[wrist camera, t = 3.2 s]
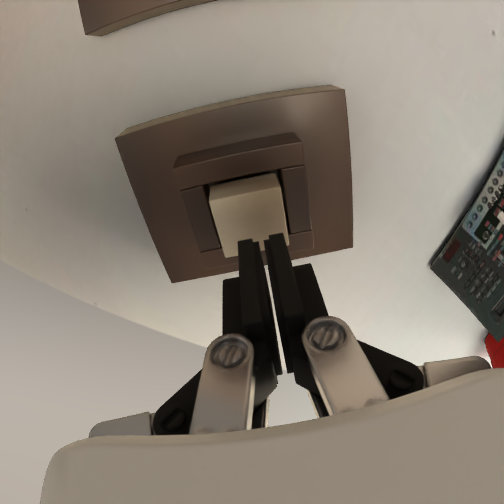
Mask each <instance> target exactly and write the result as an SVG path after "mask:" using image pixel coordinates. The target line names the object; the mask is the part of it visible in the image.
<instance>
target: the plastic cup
mask: <svg viewBox="0 0 504 504" xmlns="http://www.w3.org/2000/svg"><path fill="white" fill-rule="evenodd" d="M485 344H486V349H487V351H488V354H489V357H490V359H491V364H492V367H493V368H504V337H503V338H502V339H501V340H500V341H499V342H497V341H496V340H495V339H494V337H493V336H492V335H491V334H490V333H489V334H488V336H487V337H486V339H485Z"/></svg>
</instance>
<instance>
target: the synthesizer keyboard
mask: <svg viewBox="0 0 504 504" xmlns="http://www.w3.org/2000/svg"><path fill="white" fill-rule="evenodd" d="M430 269H431V270H432V271H433V272H434V273H435V274H436V275H437V276H438V277H439V278H440V279H441V280H442V281H443V282H444V283H445V284H446V285H447V286H448V287H449V288H450V289H451V290H452V291H453V292H454V293H455V294H456V296H457V297H458V298H459V299H460V300H461V301H462V302H463V303H464V304H465V305H466V306H467V307H468V309H469V310H470V311H471V312H472V313H473V314H474V315H475V316H476V318H477V319H478V320H479V321H480V322H481V323H482V324H483V326H484V327H485V328H486V329H487V330H488V331H489V333H490V334H491V335H492V336H493V337H494V339H495V340H496V341H497V342H499V341H500V340H501V339H502V338H503V337H504V147H503V149H502V151H501V153H500V155H499V157H498V159H497V161H496V163H495V165H494V167H493V169H492V171H491V172H490V174H489V176H488V178H487V180H486V181H485V183H484V185H483V187H482V188H481V190H480V192H479V194H478V195H477V197H476V199H475V200H474V202H473V204H472V205H471V207H470V209H469V210H468V212H467V213H466V215H465V217H464V218H463V220H462V221H461V223H460V224H459V226H458V227H457V229H456V231H455V232H454V234H453V235H452V236H451V238H450V239H449V241H448V242H447V244H446V245H445V247H444V248H443V250H442V251H441V252H440V254H439V255H438V257H437V258H436V259H435V261H434V262H433V264H432V265H431V267H430Z"/></svg>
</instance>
